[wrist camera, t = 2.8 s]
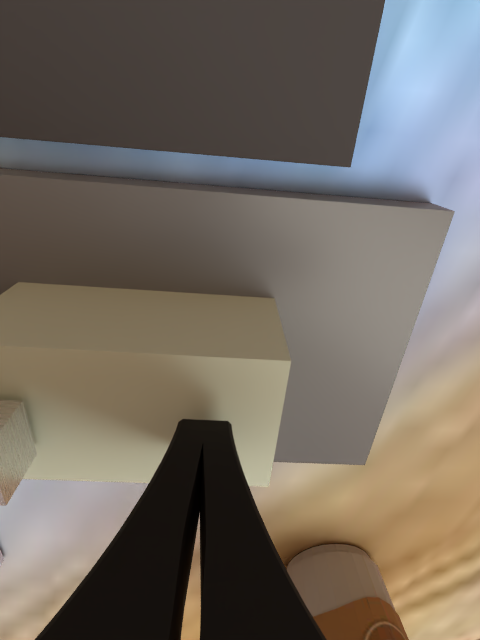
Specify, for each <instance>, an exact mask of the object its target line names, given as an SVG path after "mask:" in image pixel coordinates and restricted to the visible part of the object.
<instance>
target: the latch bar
mask: <svg viewBox="0 0 480 640" xmlns="http://www.w3.org/2000/svg"><path fill="white" fill-rule="evenodd" d="M36 455H37V452H36V449H35V445H34V441H33V437H32V433H31V430H30V426H29V422H28V418H27V415H26V411H25V407H24V403H23V401H17V400H0V505H7V503H8V502H9V500H10V498H11V497H12V495H13V493H14V492H15V490H16V488H17V487H18V485H19V483H20V482H21V480H22V478H23V477H24V475H25V473H26V472H27V470H28V468H29V467H30V465H31V463H32V462H33V460H34V458H35V457H36Z"/></svg>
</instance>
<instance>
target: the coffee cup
mask: <svg viewBox="0 0 480 640" xmlns="http://www.w3.org/2000/svg"><path fill="white" fill-rule="evenodd" d="M286 570H287V572H288V574H289V576H290V578H291V579H292V581H293V583H294V585H295V587H296V588H297V590H298V592H299V594H300V596H301V598H302V599H303V601H304V603H305V605H306V606H307V608H308V610H309V611H310V613H311V615H312V616H313V618H314V620H315V621H316V623H317V625H318V626H319V628H320V630H321V631H322V633H323V635H324V636H325V638H326V639H327V640H409V639H408V637H407V635H406V632H405V630H404V627H403V625H402V622H401V620H400V617H399V615H398V614H397V613H396V611H395V608H394V606H393V604H392V601H391V599H390V596H389V594H388V591H387V589H386V586H385V584H384V581H383V579H382V576H381V574H380V571H379V569H378V566H377V565H376V564H375V563H374V562H373V561H372V560H371V559H370V557H369V555H368V554H367V553H366V552H364V551H363V550H361V549H359V548H357V547H354V546H350V545H346V544H327V545H320V546H316V547H312V548H310V549H307V550H305V551H303V552H301V553H299V554H298V555H297V556H295V557H294V558H293V559H292V560H291V561H290V562H289V564H288V567H287V569H286Z"/></svg>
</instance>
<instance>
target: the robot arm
mask: <svg viewBox="0 0 480 640" xmlns="http://www.w3.org/2000/svg"><path fill="white" fill-rule="evenodd" d="M199 513H200V566H201V627H200V640H327V639H326V638H325V636H324V635H323V633H322V631H321V630H320V628H319V626H318V625H317V623H316V621H315V620H314V618H313V616H312V615H311V613H310V611H309V610H308V608H307V606H306V605H305V603H304V601H303V599H302V598H301V596H300V594H299V592H298V590H297V588H296V587H295V585H294V583H293V581H292V579H291V578H290V576H289V574H288V572H287V570H286V568H285V566H284V564H283V562H282V560H281V558H280V556H279V554H278V552H277V550H276V548H275V546H274V544H273V542H272V540H271V538H270V536H269V534H268V531H267V529H266V527H265V525H264V522H263V520H262V518H261V516H260V513H259V511H258V509H257V506H256V504H255V501H254V499H253V496H252V494H251V491H250V488H249V486H248V483H247V480H246V478H245V475H244V472H243V469H242V466H241V463H240V460H239V456H238V453H237V450H236V446H235V442H234V437H233V432H232V424H231V423H230V422H228V421H218V420H195V419H182V420H181V421H179V422H178V425H177V428H176V431H175V433H174V435H173V438H172V440H171V442H170V445H169V447H168V449H167V451H166V453H165V455H164V457H163V459H162V461H161V463H160V464H159V466H158V468H157V470H156V472H155V473H154V475H153V477H152V479H151V481H150V482H149V484H148V486H147V488H146V489H145V491H144V493H143V494H142V496H141V498H140V499H139V501H138V502H137V504H136V505H135V507H134V509H133V510H132V512H131V513H130V515H129V516H128V518H127V520H126V521H125V523H124V524H123V526H122V527H121V529H120V530H119V532H118V533H117V535H116V536H115V537H114V539H113V540H112V542H111V543H110V545H109V546H108V547H107V549H106V550H105V552H104V553H103V554H102V556H101V557H100V558H99V560H98V561H97V563H96V564H95V565H94V567H93V568H92V569H91V571H90V572H89V573H88V575H87V576H86V577H85V578H84V580H83V581H82V582H81V584H80V585H79V586H78V587H77V589H76V590H75V591H74V592H73V594H72V595H71V596H70V598H69V599H68V600H67V601H66V603H65V604H64V605H63V606H62V608H61V609H60V610H59V611H58V613H57V614H56V615H55V616H54V617H53V619H52V620H51V621H50V622H49V624H48V625H47V626H46V627H45V628H44V630H43V631H42V632H41V633H40V634H39V635H38V636H37V638H36V639H35V640H181V629H182V622H183V614H184V606H185V600H186V594H187V588H188V581H189V575H190V569H191V563H192V557H193V551H194V544H195V538H196V532H197V526H198V519H199ZM3 561H4V558H3V555H2V553H1V550H0V566H1V565H2V563H3Z"/></svg>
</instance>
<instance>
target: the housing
mask: <svg viewBox="0 0 480 640" xmlns="http://www.w3.org/2000/svg"><path fill="white" fill-rule="evenodd" d="M454 212H455V211H452V210H449V209H446V208H444V207H441V206H438V205H435V204H432V203H422V202H410V201H398V200H385V199H373V198H361V197H349V196H337V195H324V194H312V193H300V192H288V191H276V190H263V189H251V188H239V187H227V186H214V185H202V184H190V183H178V182H166V181H153V180H141V179H129V178H117V177H105V176H92V175H80V174H68V173H56V172H44V171H31V170H19V169H7V168H0V295H1V294H2V293H4V292H5V291H7V290H8V289H9V288H11V287H12V286H14V285H15V284H16V283H18V282H26V283H41V284H57V285H73V286H89V287H104V288H120V289H136V290H152V291H167V292H183V293H199V294H215V295H231V296H246V297H262V298H275V302H276V306H277V310H278V313H279V317H280V321H281V325H282V328H283V332H284V336H285V339H286V343H287V347H288V351H289V354H290V358H291V366H290V371H289V377H288V382H287V388H286V394H285V399H284V405H283V410H282V416H281V422H280V427H279V433H278V438H277V444H276V450H275V455H274V461H273V462H293V463H321V464H349V465H365V463H366V460H367V458H368V455H369V452H370V449H371V446H372V443H373V441H374V438H375V435H376V432H377V429H378V427H379V424H380V421H381V418H382V415H383V412H384V410H385V407H386V404H387V401H388V398H389V395H390V393H391V390H392V387H393V384H394V381H395V378H396V376H397V373H398V370H399V367H400V364H401V362H402V359H403V356H404V353H405V350H406V347H407V345H408V342H409V339H410V336H411V333H412V330H413V328H414V325H415V322H416V319H417V316H418V313H419V311H420V308H421V305H422V302H423V299H424V297H425V294H426V291H427V288H428V285H429V282H430V280H431V277H432V274H433V271H434V268H435V265H436V263H437V260H438V257H439V254H440V251H441V248H442V246H443V243H444V240H445V237H446V234H447V232H448V229H449V226H450V223H451V220H452V217H453V215H454Z"/></svg>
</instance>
